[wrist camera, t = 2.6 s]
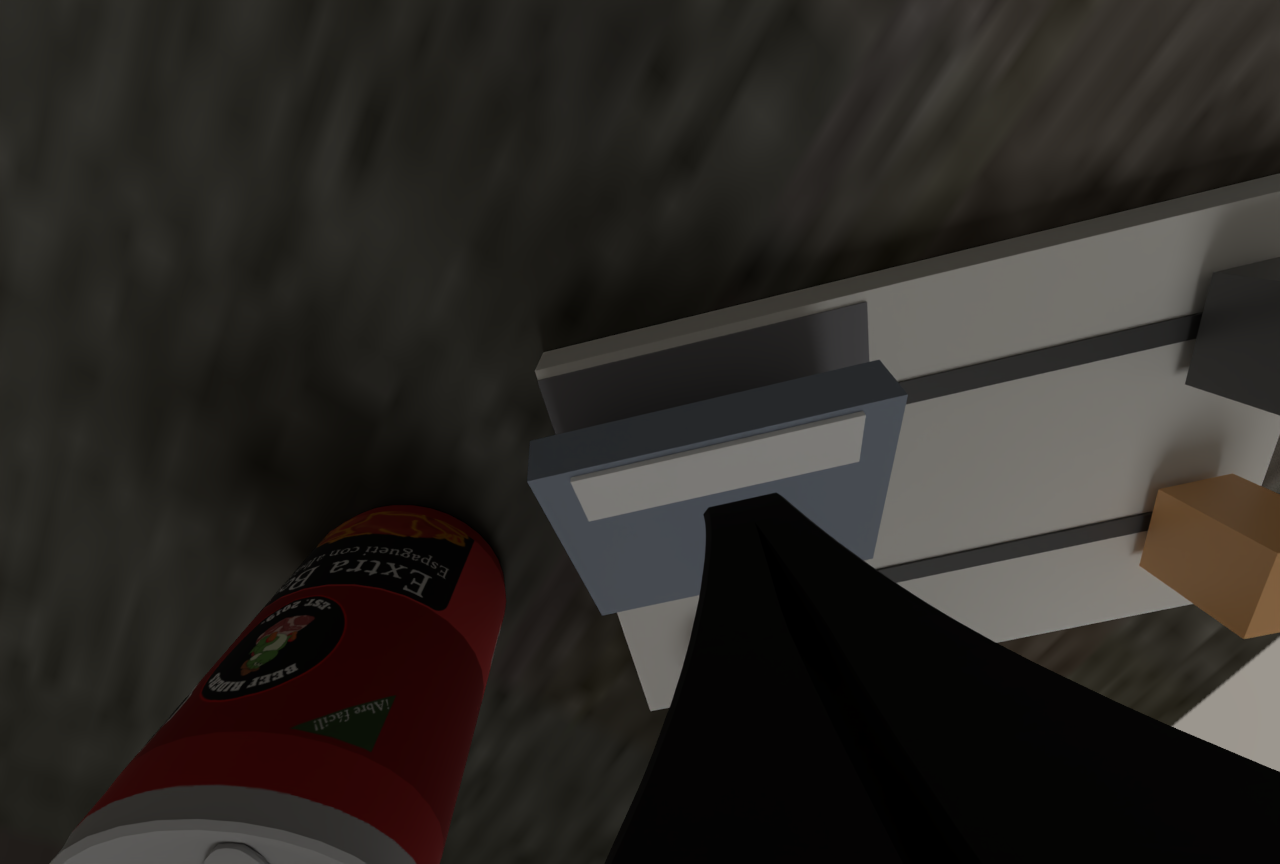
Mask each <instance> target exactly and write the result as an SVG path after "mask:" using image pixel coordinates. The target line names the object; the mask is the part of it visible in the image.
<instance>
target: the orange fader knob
mask: <svg viewBox="0 0 1280 864" xmlns="http://www.w3.org/2000/svg"><path fill="white" fill-rule="evenodd" d="M1139 566H1140V567H1142V568H1143V569H1145V570H1146V571H1148V572H1149V573H1150V574H1152V575H1153V576H1155V577H1156V578H1158V579H1159V580H1160V581H1162V582H1163V583H1165V584H1166V585H1167V586H1169V587H1170V588H1172V589H1173V590H1175V591H1176V592H1177V593H1179V594H1180V595H1182V596H1183V597H1185V598H1186V599H1187V600H1189V601H1190V602H1192V603H1193V604H1194V605H1196V606H1197V607H1199V608H1200V609H1202V610H1203V611H1204V612H1206V613H1207V614H1209V615H1210V616H1212V617H1213V618H1214V619H1216V620H1217V621H1219V622H1220V623H1221V624H1223V625H1224V626H1226V627H1227V628H1229V629H1230V630H1231V631H1233V632H1234V633H1236V634H1237V635H1239V636H1240V637H1241V638H1243V639H1247V638H1252V637H1257V636H1262V635H1267V634H1272V633H1278V632H1280V494H1278V493H1275V492H1273V491H1271V490H1269V489H1266V488H1264V487H1262V486H1260V485H1257V484H1255V483H1253V482H1251V481H1249V480H1246V479H1244V478H1242V477H1240V476H1237V475H1235V474H1233V473H1232V474H1228V475H1223V476H1218V477H1213V478H1209V479H1204V480H1199V481H1194V482H1190V483H1185V484H1180V485H1176V486H1171V487H1166V488H1161V489H1158V493H1157V497H1156V501H1155V505H1154V509H1153V513H1152V517H1151V521H1150V525H1149V529H1148V533H1147V537H1146V541H1145V545H1144V549H1143V552H1142V556H1141V560H1140V564H1139Z"/></svg>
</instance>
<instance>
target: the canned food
mask: <svg viewBox="0 0 1280 864" xmlns="http://www.w3.org/2000/svg"><path fill="white" fill-rule="evenodd" d="M505 606H506V594H505V584H504V577H503V572H502V569H501V566H500V563H499V560H498V558H497V557H496V555H495V553H494V552H493V550H492V548H491V547H490V545H489V544H488V543H487V542H486V541H485V540H484V539H483V538H482V537H481V535H480V534H479V533H477V532H476V531H475V530H473V529H472V528H471V527H469V526H468V525H467V524H466V523H464V522H462V521H460V520H458V519H456V518H454V517H453V516H451V515H449V514H446V513H443V512H440V511H437V510H434V509H431V508H426V507H420V506H414V505H390V506H385V507H379V508H374V509H372V510H369V511H366V512H364V513H361V514H359V515H357V516H355V517H353V518H351V519H349V520H348V521H346V522H344V523H343V524H341V525H340V526H338V527H336V528H335V529H333V530H332V531H330V532H329V533H328V535H327V536H326V537H325V538H324V539H323V540H322V541H321V542H320V543H319V544H318V545H317V547H316V548H315V549H314V550H313V551H312V552H311V553H310V555H309V556H308V557H307V558H306V559H305V560H304V562H303V563H302V564H301V565H300V566H299V567H298V569H297V570H296V571H295V572H294V573H293V574H292V576H291V577H290V578H289V579H288V580H287V581H286V582H285V584H284V585H283V586H282V587H281V588H280V589H279V591H278V592H277V593H276V594H275V595H274V596H273V598H272V599H271V600H270V601H269V602H268V603H267V604H266V606H265V607H264V608H263V609H262V610H261V611H260V613H259V614H258V615H257V616H256V617H255V618H254V620H253V621H252V622H251V623H250V624H249V625H248V627H247V628H246V629H245V630H244V631H243V632H242V633H241V635H240V636H239V637H238V638H237V639H236V640H235V642H234V643H233V644H232V645H231V646H230V647H229V649H228V650H227V651H226V652H225V653H224V654H223V655H222V657H221V658H220V659H219V660H218V661H217V662H216V664H215V665H214V666H213V667H212V668H211V669H210V671H209V672H208V673H207V674H206V675H205V676H204V678H203V679H202V680H201V681H200V682H199V683H198V684H197V686H196V687H195V688H194V689H193V690H192V691H191V693H190V694H189V695H188V696H187V697H186V698H185V700H184V701H183V702H182V703H181V704H180V705H179V707H178V708H177V709H176V710H175V711H174V712H173V713H172V715H171V716H170V717H169V718H168V719H167V720H166V722H165V723H164V724H163V725H162V726H161V727H160V729H159V730H158V731H157V732H156V733H155V734H154V735H153V737H152V738H151V739H150V740H149V741H148V742H147V744H146V745H145V746H144V747H143V748H142V749H141V751H140V752H139V753H138V754H137V755H136V756H135V758H134V759H133V760H132V761H131V762H130V763H129V764H128V766H127V767H126V768H125V769H124V770H123V771H122V773H121V774H120V775H119V776H118V777H117V779H116V780H115V781H114V783H113V784H112V785H111V787H110V788H109V789H108V790H107V792H106V793H105V794H104V795H103V796H102V798H101V799H100V800H99V801H98V802H97V803H96V805H95V806H94V807H93V808H92V809H91V810H90V812H89V813H88V814H87V815H86V816H85V817H84V819H83V820H82V821H81V822H80V823H79V824H78V826H77V827H76V828H75V829H74V830H73V832H72V833H71V834H70V836H69V838H68V840H67V841H66V843H65V845H64V847H63V848H62V850H61V851H60V852H59V853H58V854H57V855H56V857H55V858H54V859H53V860H52V861H51V863H50V864H439V863H440V860H441V857H442V854H443V850H444V846H445V842H446V838H447V834H448V830H449V826H450V823H451V819H452V815H453V811H454V807H455V803H456V799H457V795H458V792H459V788H460V784H461V780H462V776H463V772H464V768H465V765H466V761H467V757H468V753H469V749H470V745H471V741H472V737H473V734H474V730H475V726H476V722H477V718H478V714H479V710H480V706H481V703H482V699H483V695H484V691H485V687H486V683H487V679H488V675H489V672H490V668H491V664H492V660H493V656H494V652H495V648H496V645H497V641H498V637H499V633H500V629H501V625H502V621H503V617H504V612H505Z"/></svg>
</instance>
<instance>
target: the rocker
mask: <svg viewBox="0 0 1280 864" xmlns="http://www.w3.org/2000/svg"><path fill="white" fill-rule="evenodd" d="M907 397H908V394H907V393H906V392H905V390H904V389H903V388H902V387H901V385H900V384H899V383H898V382H897V380H896V379H895V378H894V377H893V375H892V374H891V373H890V372H889V371H888V369H887V368H886V367H885V366H884V364H883V363H882V362H881V361H880V359H879V360H875V361H871V362H866V363H862V364H858V365H853V366H849V367H845V368H841V369H836V370H832V371H828V372H823V373H819V374H815V375H811V376H806V377H802V378H798V379H793V380H789V381H785V382H781V383H776V384H772V385H768V386H763V387H759V388H755V389H750V390H746V391H742V392H738V393H733V394H729V395H725V396H720V397H716V398H712V399H708V400H703V401H699V402H695V403H690V404H686V405H682V406H678V407H673V408H669V409H665V410H660V411H656V412H652V413H648V414H643V415H639V416H635V417H630V418H626V419H622V420H617V421H613V422H609V423H605V424H600V425H596V426H592V427H587V428H583V429H579V430H575V431H570V432H566V433H562V434H557V435H553V436H549V437H545V438H540V439H536V440H532V441H530V448H529V463H528V477H527V482H528V484H529V486H530V487H531V489H532V491H533V493H534V494H535V496H536V498H537V500H538V502H539V503H540V505H541V507H542V509H543V511H544V512H545V514H546V516H547V518H548V520H549V521H550V523H551V525H552V527H553V528H554V530H555V532H556V534H557V536H558V537H559V539H560V541H561V543H562V545H563V546H564V548H565V550H566V552H567V554H568V555H569V557H570V559H571V561H572V562H573V564H574V566H575V568H576V570H577V571H578V573H579V575H580V577H581V579H582V580H583V582H584V584H585V586H586V588H587V589H588V591H589V593H590V595H591V596H592V598H593V600H594V602H595V604H596V605H597V607H598V609H599V611H600V613H601V614H602V616H603V615H607V614H612V613H617V612H622V611H626V610H631V609H636V608H641V607H645V606H650V605H655V604H660V603H664V602H669V601H674V600H679V599H683V598H688V597H693V596H697V595H700V589H701V582H702V574H703V567H704V560H705V545H706V528H705V520H704V515H703V514H704V512H705V511H706V510H707V509H708V507H712V506H717V505H721V504H726V503H731V502H735V501H740V500H744V499H749V498H753V497H758V496H762V495H767V494H771V493H778V494H780V495H781V496H783V497H784V498H785V499H786V500H787V501H789V502H790V503H791V504H792V505H793V506H794V507H796V508H797V509H798V510H799V511H800V512H802V513H803V514H804V515H805V516H806V517H808V518H809V519H810V520H811V521H812V522H814V523H815V524H816V525H817V526H819V527H820V528H821V529H822V530H824V531H825V532H826V533H827V534H829V535H830V536H831V537H833V538H834V539H835V540H836V541H838V542H839V543H840V544H842V545H843V546H845V547H846V548H847V549H849V550H850V551H851V552H853V553H854V554H855V555H857V556H858V557H860V558H861V559H862V560H868V559H873V556H874V551H875V547H876V542H877V537H878V532H879V528H880V523H881V518H882V514H883V509H884V504H885V500H886V495H887V490H888V486H889V481H890V476H891V472H892V467H893V462H894V458H895V453H896V448H897V443H898V439H899V434H900V429H901V425H902V420H903V415H904V411H905V406H906V401H907Z"/></svg>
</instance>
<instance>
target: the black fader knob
mask: <svg viewBox="0 0 1280 864" xmlns="http://www.w3.org/2000/svg"><path fill="white" fill-rule="evenodd" d="M1185 385H1188V386H1191V387H1194V388H1197V389H1201V390H1204V391H1207V392H1210V393H1213V394H1216V395H1219V396H1222V397H1225V398H1228V399H1231V400H1234V401H1237V402H1240V403H1243V404H1246V405H1249V406H1252V407H1255V408H1258V409H1261V410H1264V411H1267V412H1270V413H1273V414H1276V415H1280V257H1277V258H1273V259H1268V260H1264V261H1260V262H1255V263H1251V264H1247V265H1243V266H1238V267H1234V268H1230V269H1226V270H1221V271H1217V272H1213V274H1212V278H1211V282H1210V286H1209V290H1208V294H1207V298H1206V302H1205V306H1204V310H1203V314H1202V318H1201V322H1200V326H1199V330H1198V334H1197V338H1196V342H1195V346H1194V350H1193V354H1192V358H1191V362H1190V366H1189V370H1188V374H1187V378H1186V382H1185Z"/></svg>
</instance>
